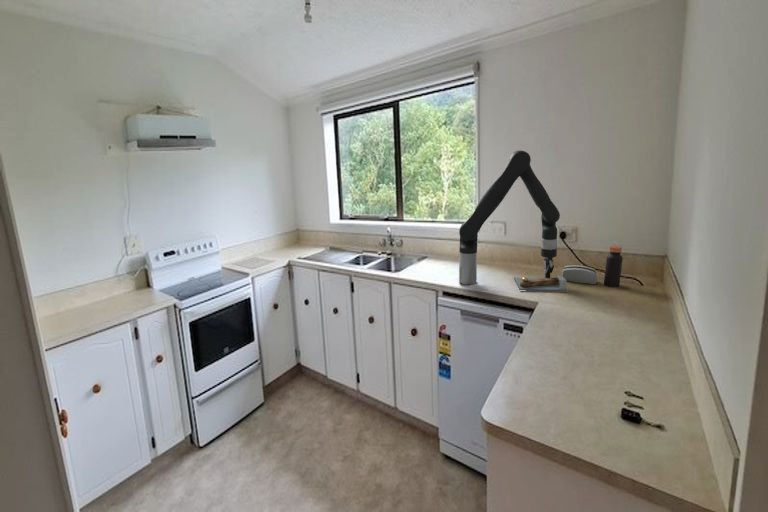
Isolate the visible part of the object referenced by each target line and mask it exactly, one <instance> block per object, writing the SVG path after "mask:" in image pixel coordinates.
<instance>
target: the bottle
mask: <svg viewBox="0 0 768 512" xmlns="http://www.w3.org/2000/svg"><path fill="white" fill-rule="evenodd" d="M622 250H623V249H622V246H620V245H619V246H618V245H611V246H610V247H609V252H610V253H609V254H607V256H606V259H605V268H604V269H605V270H604V279H603V285H604V286H606V287H608V288H619V287H620V284H621V283H620V282H621V276H622V275H621V274H622V267H623V260H624V258H623V255H621V253H622Z"/></svg>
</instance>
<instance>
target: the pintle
mask: <svg viewBox="0 0 768 512" xmlns="http://www.w3.org/2000/svg"><path fill="white" fill-rule="evenodd" d="M521 278H522V281H525V282H526V281H528V278H529V277H526V276H523V277H521Z"/></svg>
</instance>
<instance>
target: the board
mask: <svg viewBox="0 0 768 512" xmlns="http://www.w3.org/2000/svg"><path fill="white" fill-rule="evenodd" d="M522 278H523V277H516V276H515V277H514V278H513V281H514V283H515V285H516V286H518V287H517V289H518V288H519V289H518V291H519V290H526V291H525V292H539V291H546V292H548V293H549V292H550V293H552V292H553V293H568V289H567V288H566V290H561V289H558V287H559V284H550V285H539V286H529V287H521V286H520V281H521V280H522ZM527 278H528V280H533V279H544V278H545V277H527ZM546 292H545V293H546Z"/></svg>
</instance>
